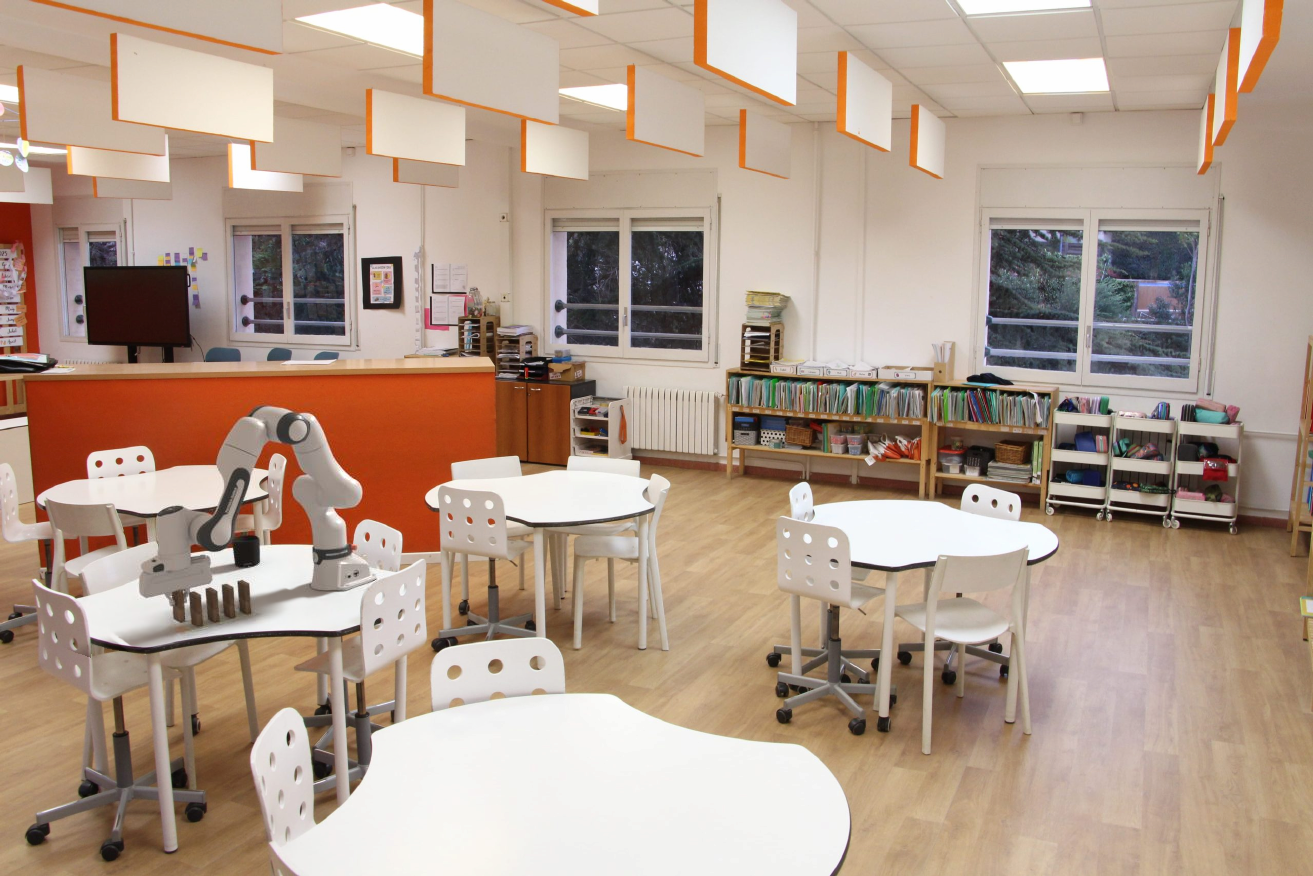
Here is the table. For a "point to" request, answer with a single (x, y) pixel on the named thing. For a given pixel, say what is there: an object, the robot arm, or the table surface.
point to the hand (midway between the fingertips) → (178, 604)
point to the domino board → (209, 622)
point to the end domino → (179, 606)
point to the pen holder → (246, 550)
